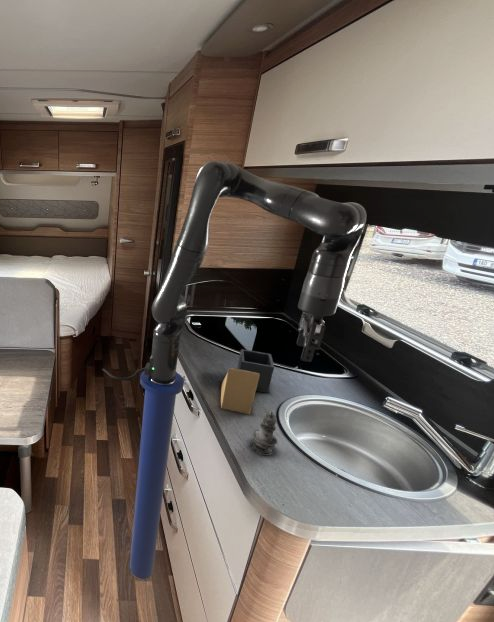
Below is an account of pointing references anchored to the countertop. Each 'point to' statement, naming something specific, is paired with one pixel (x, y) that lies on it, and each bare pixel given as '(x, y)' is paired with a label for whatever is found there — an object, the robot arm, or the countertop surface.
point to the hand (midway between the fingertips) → (303, 353)
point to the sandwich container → (239, 390)
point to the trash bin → (257, 367)
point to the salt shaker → (265, 435)
